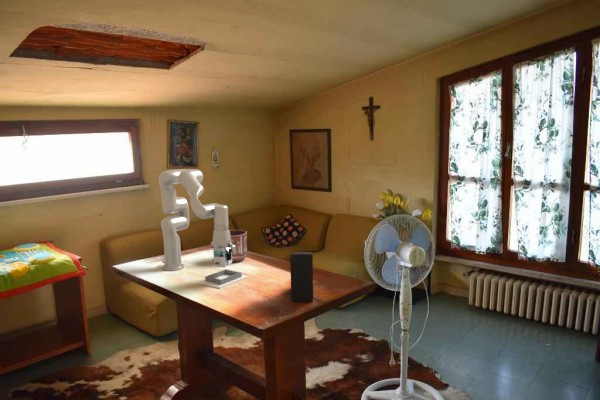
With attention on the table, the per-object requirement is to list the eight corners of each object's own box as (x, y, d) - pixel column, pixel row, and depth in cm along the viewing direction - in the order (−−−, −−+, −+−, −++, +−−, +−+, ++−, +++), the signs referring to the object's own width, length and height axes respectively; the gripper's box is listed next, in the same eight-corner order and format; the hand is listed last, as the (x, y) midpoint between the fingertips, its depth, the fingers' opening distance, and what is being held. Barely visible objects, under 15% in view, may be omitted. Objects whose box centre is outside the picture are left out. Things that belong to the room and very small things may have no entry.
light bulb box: (225, 267, 241) (224, 248, 240) (213, 267, 243) (212, 247, 241) (232, 262, 252) (231, 243, 250) (221, 261, 253) (220, 242, 252)
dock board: (198, 283, 244) (198, 277, 244) (227, 272, 262) (226, 267, 261) (220, 288, 235) (219, 282, 235) (248, 277, 253) (247, 271, 252)
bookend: (292, 285, 238) (292, 242, 235) (313, 285, 238) (312, 242, 234) (290, 302, 215) (289, 254, 212) (313, 302, 215) (313, 254, 211)
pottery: (218, 257, 294) (217, 230, 291) (245, 255, 299) (244, 228, 297) (222, 265, 278) (221, 237, 275) (250, 262, 283) (249, 234, 280)
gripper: (205, 227, 246) (206, 258, 249) (228, 230, 236) (229, 262, 239) (215, 225, 252) (216, 255, 255) (238, 228, 242) (239, 259, 245)
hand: (223, 258), depth 247 cm, fingers closed on light bulb box, 8 cm apart
